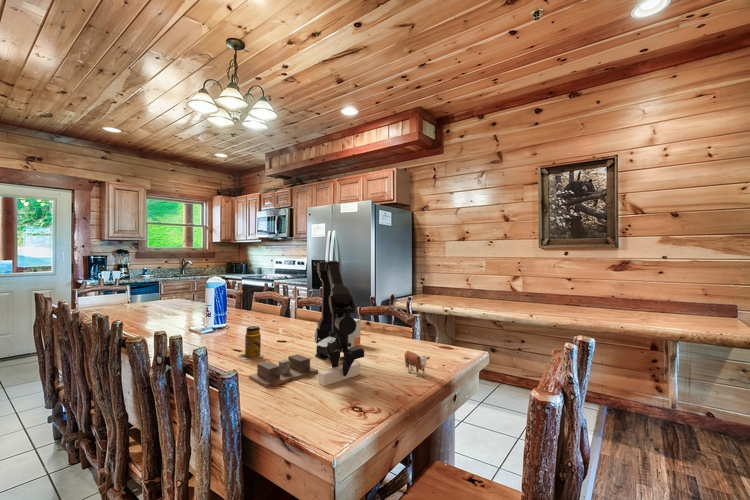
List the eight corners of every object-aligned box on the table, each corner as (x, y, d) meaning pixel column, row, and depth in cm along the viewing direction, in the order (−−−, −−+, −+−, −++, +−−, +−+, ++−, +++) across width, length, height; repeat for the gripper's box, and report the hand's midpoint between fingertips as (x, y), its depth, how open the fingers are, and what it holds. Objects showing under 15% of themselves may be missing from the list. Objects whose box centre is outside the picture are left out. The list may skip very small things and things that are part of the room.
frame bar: (354, 372, 125) (354, 361, 125) (360, 374, 123) (360, 363, 123) (318, 384, 114) (318, 372, 114) (323, 386, 112) (323, 374, 112)
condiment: (263, 356, 143) (263, 327, 143) (241, 360, 138) (242, 330, 139) (258, 352, 149) (258, 324, 149) (237, 355, 144) (238, 327, 145)
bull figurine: (422, 382, 116) (422, 357, 116) (402, 369, 128) (402, 347, 128) (432, 380, 118) (433, 356, 118) (412, 368, 130) (412, 346, 130)
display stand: (299, 365, 133) (299, 352, 133) (317, 372, 124) (318, 358, 124) (249, 378, 118) (249, 363, 118) (266, 387, 110) (266, 372, 110)
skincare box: (353, 347, 158) (353, 321, 158) (345, 346, 160) (346, 320, 160) (360, 344, 163) (361, 319, 163) (353, 343, 165) (353, 318, 166)
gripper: (305, 327, 120) (304, 373, 119) (339, 337, 106) (339, 388, 106) (330, 323, 128) (330, 365, 127) (365, 331, 114) (365, 378, 114)
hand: (340, 374), depth 119 cm, fingers open, 5 cm apart
